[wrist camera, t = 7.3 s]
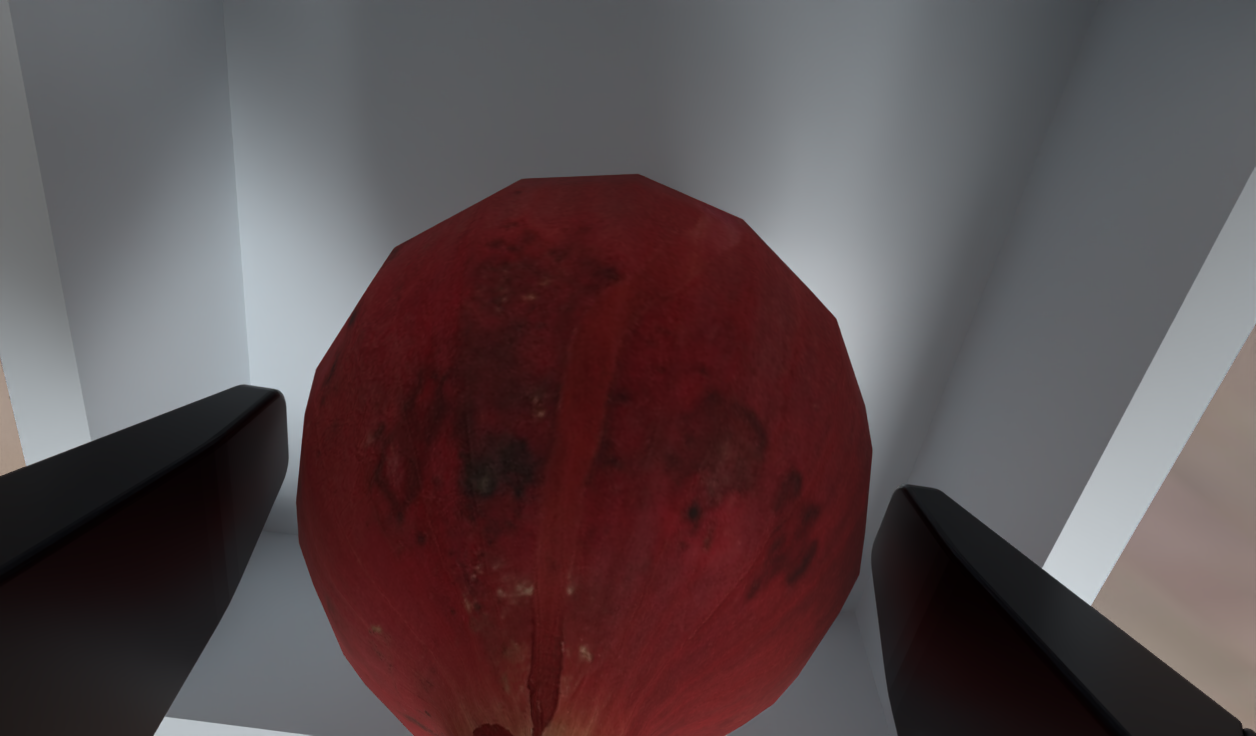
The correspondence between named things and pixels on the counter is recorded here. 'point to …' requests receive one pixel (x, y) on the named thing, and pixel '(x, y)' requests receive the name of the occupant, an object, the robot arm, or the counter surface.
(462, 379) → the onion
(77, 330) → the bin
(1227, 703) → the counter surface
